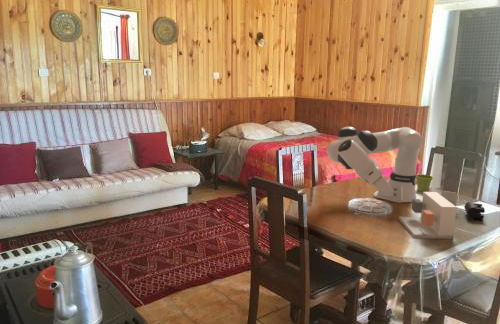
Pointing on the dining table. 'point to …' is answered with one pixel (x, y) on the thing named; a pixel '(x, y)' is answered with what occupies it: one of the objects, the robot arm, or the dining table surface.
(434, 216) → the orange thick block
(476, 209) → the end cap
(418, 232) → the plug console
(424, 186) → the plant pot
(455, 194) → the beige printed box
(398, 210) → the dining table surface
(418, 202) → the grey plug
